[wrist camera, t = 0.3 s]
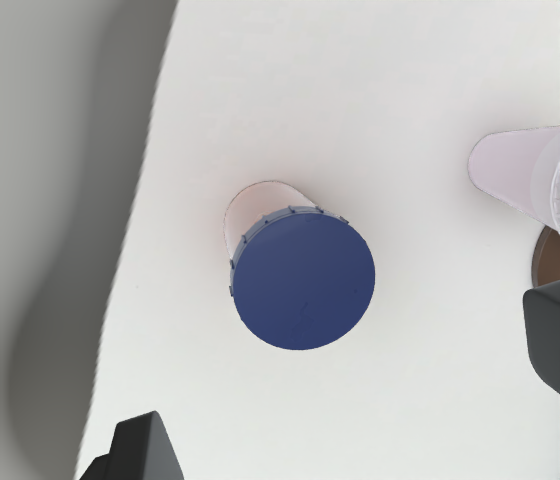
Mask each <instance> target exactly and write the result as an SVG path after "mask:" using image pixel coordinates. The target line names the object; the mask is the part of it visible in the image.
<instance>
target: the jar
mask: <svg viewBox="0 0 560 480" xmlns="http://www.w3.org/2000/svg"><path fill="white" fill-rule="evenodd" d="M288 205H291V206H292V207H294V206H309V207H315V206H316V205H315V204H314V203H313V202H311V201H310V200H309V199H308V198H306V197H305V196H304V195H303V194H301V193H300V192H299V191H298V190H296V189H295V188H293V187H291V186H290V185H287V184H284V183H281V182H274V181H266V182H260V183H256V184H253V185H251V186H249V187H247V188H246V189H244V190H243V191H241V192H240V193H239V194H238V195H237V196H236V197H235V198H234V199H233V201H232V202H231V203H230V205H229V207H228V209H227V212H226V214H225V219H224V236H225V240H226V245H227V249H228V253H229V257H230V259H231V260H232V259H233V255H234V253H235V250H236V248H237V246H238V244H239V242H240V240H241V239H242V238H241V235H242V234H243V235H245V233H246V232H247V231H248V230H249V229H250V228H251V227H252V226H253V225H254V224H255V223H256V222H258V221H259V220H260V219H262V217H261V216H263V215H264V216H267V215H268V214H270V213H273V212H275V211H277V210H281V209H284V208H288Z"/></svg>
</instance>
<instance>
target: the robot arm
mask: <svg viewBox="0 0 560 480" xmlns="http://www.w3.org/2000/svg"><path fill="white" fill-rule="evenodd" d="M523 310H524V319H525V327H526V336H527V345H528V353H529V358H530V361H531V364H532V366H533V368H534V369H535V371H536V373H537V374H538V376H539V377H540V378H541V379H542V380H543V381H544V382H545V383H546V384H547V385H549V386H550V387H551V388H553V389H554V390H555V391H557V392H558V393H559V394H560V280H558V281H554V282H551V283H548V284H545V285H542V286H539V287H536V288H533V289H530V290H527V291H526V292H525V293H524V295H523ZM79 480H184V477H183V473H182V470H181V468H180V465H179V463H178V460H177V458H176V455H175V452H174V450H173V447H172V445H171V442H170V440H169V437H168V434H167V432H166V429H165V427H164V424H163V422H162V419H161V417H160V415H159V414H158V412H157V411H152V412H149V413H146V414H143V415H140V416H137V417H134V418H131V419H128V420H125V421H122V422H119V423H118V424H117V425H116V428H115V432H114V436H113V440H112V444H111V447H110V451H109V453H108V454H105V455H102V456H99V457H96V458H95V459H94V460H93V462H92V463H91V464H90V466H89V467H88V468H87V470H86V471H85V473H84V474H83V475H82V477H81V478H80V479H79Z"/></svg>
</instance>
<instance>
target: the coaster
mask: <svg viewBox="0 0 560 480" xmlns="http://www.w3.org/2000/svg"><path fill="white" fill-rule="evenodd" d="M532 280H533V286H534V288H536V287H539V286H542V285H545V284H548V283H551V282H554V281H558V280H560V234H559V233H558V231H556V230H554V229H553V228H551V227H549V226H547V225H546V227H545V228H544V230H543V232H542V234H541V236H540V238H539V240H538V243H537V245H536V248H535V252H534V256H533V262H532Z"/></svg>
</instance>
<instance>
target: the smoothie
mask: <svg viewBox="0 0 560 480" xmlns="http://www.w3.org/2000/svg"><path fill="white" fill-rule="evenodd" d="M468 171H469V176H470V179H471V181H472V182H473V184H474V185H475V186H476V187H477V188H479V189H480V190H482V191H484V192H486V193H488V194H490V195H491V196H493V197H495V198H497V199H499V200H501V201H503V202H505V203H506V204H508V205H510V206H512V207H514V208H516V209H518V210H519V211H521V212H523V213H525V214H527V215H529V216H531V217H533V218H534V219H536V220H538V221H540V222H542V223H544V224H546V225H547V226H549V227H551V228H553V229H554V230H556V231H558V233H559V234H560V126H553V127H544V128H535V129H526V130H517V131H508V132H500V133H493V134H490V135H488V136H486V137H484V138H483V139H481V140H480V141H479V142H478V143H477V144H476V146H475V147H474V149H473V150H472V152H471V155H470V158H469V163H468Z"/></svg>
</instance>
